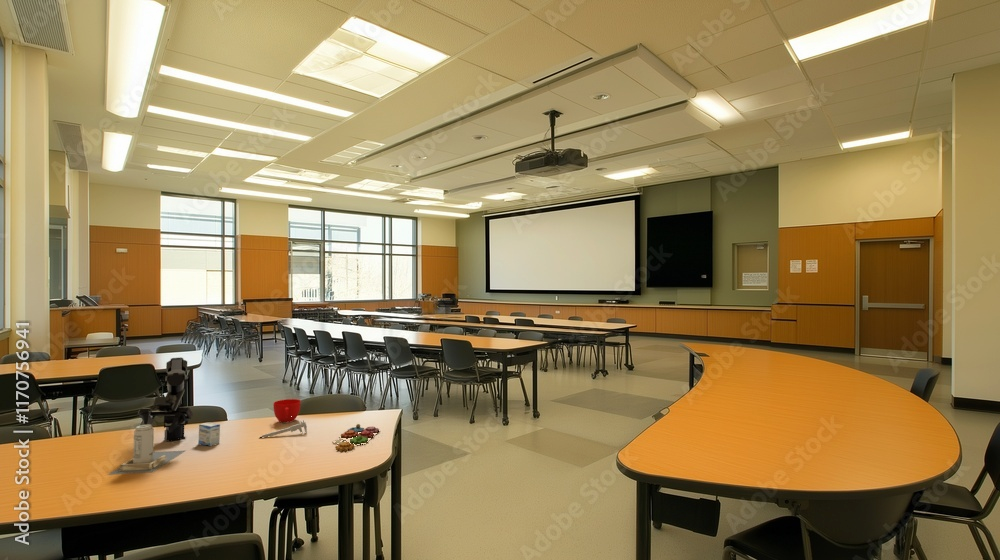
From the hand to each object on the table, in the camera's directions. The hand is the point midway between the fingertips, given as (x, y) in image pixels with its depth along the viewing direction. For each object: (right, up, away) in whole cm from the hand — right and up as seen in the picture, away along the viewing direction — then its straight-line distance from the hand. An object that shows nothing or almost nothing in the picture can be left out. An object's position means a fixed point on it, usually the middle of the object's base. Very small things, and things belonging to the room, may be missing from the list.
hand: (157, 432), depth 187 cm
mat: (+1, -10, -5) cm, 11 cm away
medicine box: (+10, -11, +17) cm, 23 cm away
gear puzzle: (+72, -12, +23) cm, 77 cm away
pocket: (+1, -10, -9) cm, 13 cm away
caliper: (+37, -12, +30) cm, 49 cm away
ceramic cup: (+29, -12, +52) cm, 61 cm away
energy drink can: (+1, -10, -9) cm, 13 cm away
